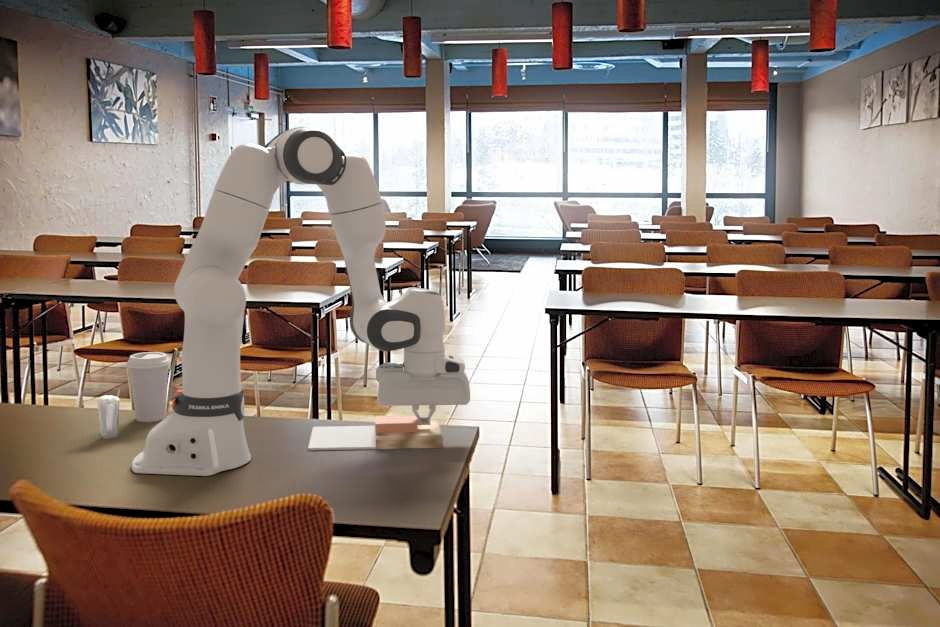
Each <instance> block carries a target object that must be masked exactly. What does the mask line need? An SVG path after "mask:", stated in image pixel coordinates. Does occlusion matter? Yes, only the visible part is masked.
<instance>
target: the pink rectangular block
mask: <svg viewBox="0 0 940 627" xmlns="http://www.w3.org/2000/svg"><path fill="white" fill-rule="evenodd" d="M374 420H375V424H374V426H375V433H407V432H417V417H416V415H402V416H401V415H400V416H399V415H396V416H395V415H394V416H391V415H390V416H385V415H384V416H381V415H380V416H375V418H374Z"/></svg>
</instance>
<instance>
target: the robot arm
mask: <svg viewBox="0 0 940 627" xmlns="http://www.w3.org/2000/svg"><path fill="white" fill-rule="evenodd" d="M284 183H289V184H291V183H292V184H295V185H303V186H304V185H316V186H317V187H318V188H319V190H321V191H322V194H323V196H324V199H325V201H326V206H327V210H328V214H329V219H330V221H331V225H332V228H333V231H334V234H335V237H336V239H337V242H338V245H339V247H340V250H341V253H342V256H343V259H344V260H343V261H344V265H345V270H346V275H347V279H348V283H349V288H350V293H351V309H350V312H349V313H350V315H349V327H350V331H351V332H352V334H353V335H354V336H353V337H355V338H356V339H357V340H359V341H360V342H362V343H364V344H367V345H369V346H371V347H372V348H374V349H377V350H378V351H382V352H391V351H398V350H401V349H403V362H383V363H382V364H380V365H378V366H377V367H376V370H375V380H376V382H378V385H377V399H376V400H377V401H376V402H377V403H378V404H379V405H380V406H382V407H384V406H386V407H387V406H388V407H390V406H392V407H393V406H394V407H398V406H399V407H400V406H402V407H404V406H411V409H412V412H413V414H414V416H416V418H417V425H430V418H433V415H434V414H435V413H436V412H435V411H436V410H437V409H436V408H437V407H436V406H466V405H468V404H469V403H470V402H471V388H470V381H469V379H468V376H467V373H466V372H465V368H466V364H465V361H464V360H463V359H462V358H461V357H458V356H454V355H451V354H449V353H445V351H446V350H445V348H446V347H445V344H444V335H445V334H444V333H445V331H446V327H445V326H446V316H445V315H446V314H445V305H444V300H443V299H444V298H443V297H442V295H441V294H440V293H439V292H436V291H435V290H432V289H428V288H421V287H409V288H407V290H406V291H405V292H403V293H402V294H401V295H399V296H398V297H396V298H394V299H392V300H391V301H386V299H385V298H384V296H383V295H382V293H381V288H380V282H379V278H378V273H377V267H376V262H375V255H376V251H377V248H378V246H379V245H380V243H382V241H383V240H384V238H385V235H386V232H387V230H386V214H385V211H384V205H383V201H382V198H381V197H382V196H381V193H380V191H379V187H378V183H377V181H376V179H375V175H374V173H373V170H372V168H371V167H370V164H369V162H368V160H367V158H365V157H364V156H363V155H360V154H358V153H355V152H344V151H343V150H342V149H341V148H340V147H339V146H338V144H337V143H336V142H335V141H334V139H333V138H332V137H331V136H330V135H329V134H328V133H327V132H325V131H323V130H321V129H319V128H315V127H301V126H299V127H293V128H291V129H288V130H284V131H282V132H280V133H278V134H277V135H276V136H274V137H273V138H272V139H271V140H270V141H269V142H267V143H266V144H264V146H262V145H260V144H255V143H243V144H239V145H237V146H235V147H234V148H233V150H232V151H231V153H230V155H229V156H228V158H227V160H226V162H225V163H224V165H223V168H222V170H221V171H220V174H219V176H218V178H217V181H216V183H215V186H214V188H213V191H212V193H211V198H210V201H209V203H208V206H207V209H206V212H205V214H204V216H203V217H204V218H203V221H202V223H201V226H200V228H199V231H198V233H197V236H196V237H195V240H194V241H193V242H192V245H191V247H190V249H189V251H188V253H187V255H186V258H185V260H184V262H183V265H182V266H181V269H180V270H179V271H180V272H179V274H178V276H177V278H176V280H175V283H174V288H173V289H174V291H173V292H174V298H175V301H176V303H177V305H178V306H179V308H180V309H181V310H182V311H183V312H184V328H183V330H184V332H183V344H182V350H181V373H182V374H181V376H182V378H181V380H182V388H181V389H178V390H176V392H175V393H174V394H173V397H172V400H171V406H172V412H171V413H170V414H169V415H167V416H166V418H165V419H163V420H161V421H159V423H157V424H156V425H155V426H154V427H152V429H151V430H149V432H148V434H147V436H145V437H146V438H145V442H144V445H143V451H141V452H139V453H138V454H137V455H136V456H135V457H134V458H133V460H132V462H131V470H132V472H134V474H136V473H137V474H152V475H154V474H155V475H173V476H174V475H175V476H198V477H200V476H201V477H208V476H212V475H213V476H214V475H216V474H218V473H220V472H223V471H227V470H233V469H236V468H239V467H242V466H244V465H245V464H247V463H249V462H250V461H251V460H252V455H251V453H250V450H249V446H248V442H247V438H246V432H245V426H244V425H245V424H244V418H245V396H244V390H243V389H242V379H241V373H242V372H241V344H242V339H243V330H244V329H243V328H244V321H245V310H246V306H247V296H246V292H245V289H244V287H243V285H242V282H241V281H240V280H239V278H240V276H241V274H242V273H243V270H244V268H245V266H246V264H247V262H248V261H249V258H251V255H252V254H253V253H254V251H255V250H256V248H257V246H258V244H259V241H260V238H261V234H262V232H263V230H264V227H265V226H264V225H265V224H266V221H267V217H268V215H269V212H270V209H271V206H272V203H273V199H274V196H275V194H276V193H277V191H278V189H279V188H280V186H281V185H282V184H284ZM420 406H428V409H429V411H428V412H427V415H421V414H420V413H419V411H418V410H420V409H419V408H420Z"/></svg>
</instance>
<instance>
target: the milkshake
mask: <svg viewBox="0 0 940 627" xmlns="http://www.w3.org/2000/svg"><path fill="white" fill-rule="evenodd" d="M120 392H121V388H119V389H118V391H117V395H116V396H115V395H111V394H110V395H108V394H107V395H106V394H105V395H103V396H100V397H98V398H97V399H96V406H97V412H98V420H99V427H100V434H101V438H102V439H107V440H109V439H114V438H118V436H119V414H120V398H119V396H120Z"/></svg>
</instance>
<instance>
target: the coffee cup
mask: <svg viewBox="0 0 940 627" xmlns="http://www.w3.org/2000/svg"><path fill="white" fill-rule="evenodd" d="M170 365H171V359H170V358H169V357H168V355H167V353H165V352H161V351H148V352H138V353H133V354H131V355H129V358H128V360H127V363H126V367H127V368H128V372H129V377H130V385H131V391H132V399H133V407H134V415H135V420H136V421H137V422H140V423H155V422H161V421H162V420H164V419H165V418H166V417H167V416H166V414H167V393H168V379H169V378H168V377H169V366H170Z"/></svg>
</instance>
